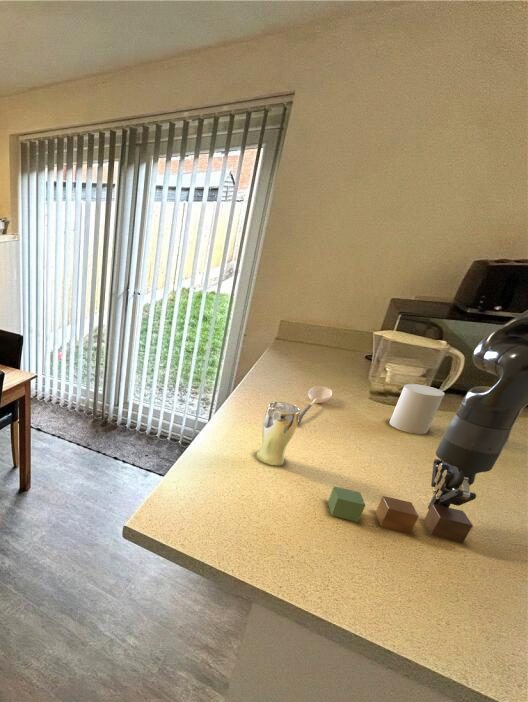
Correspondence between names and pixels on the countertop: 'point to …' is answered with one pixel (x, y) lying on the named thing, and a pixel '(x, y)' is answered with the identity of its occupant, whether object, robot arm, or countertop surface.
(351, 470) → the countertop surface
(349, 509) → the sage block
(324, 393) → the ladle
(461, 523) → the walnut block
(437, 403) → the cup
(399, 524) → the oak block
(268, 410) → the beer glass
